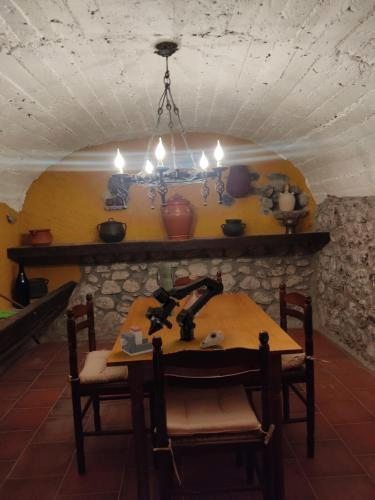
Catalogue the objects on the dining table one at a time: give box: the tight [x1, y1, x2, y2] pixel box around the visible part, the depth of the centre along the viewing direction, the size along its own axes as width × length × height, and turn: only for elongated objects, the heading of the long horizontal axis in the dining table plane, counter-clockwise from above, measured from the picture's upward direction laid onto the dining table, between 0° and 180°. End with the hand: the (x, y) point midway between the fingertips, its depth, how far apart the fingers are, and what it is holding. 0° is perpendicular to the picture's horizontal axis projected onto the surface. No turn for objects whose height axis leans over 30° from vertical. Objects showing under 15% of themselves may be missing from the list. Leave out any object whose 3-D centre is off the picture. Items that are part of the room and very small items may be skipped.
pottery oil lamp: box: [199, 330, 224, 349], centre depth 204 cm, size 9×12×7 cm
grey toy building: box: [121, 331, 153, 354], centre depth 201 cm, size 14×10×8 cm
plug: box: [120, 325, 143, 346], centre depth 199 cm, size 9×6×10 cm, turn 124°
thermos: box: [156, 261, 176, 318], centre depth 271 cm, size 9×12×35 cm
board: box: [121, 348, 153, 357], centre depth 202 cm, size 14×10×1 cm
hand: (148, 335), depth 204 cm, fingers closed
